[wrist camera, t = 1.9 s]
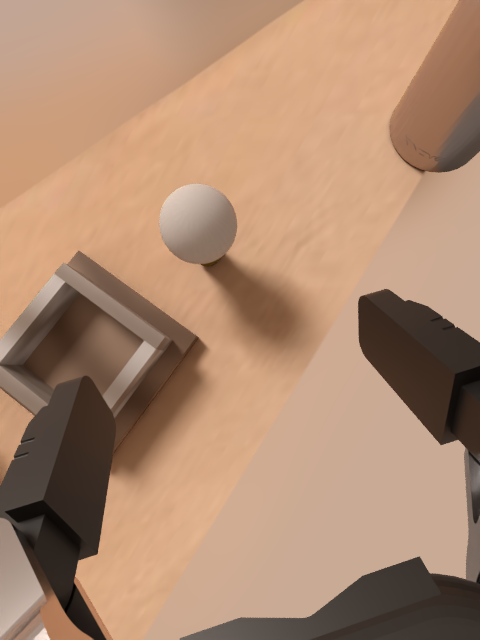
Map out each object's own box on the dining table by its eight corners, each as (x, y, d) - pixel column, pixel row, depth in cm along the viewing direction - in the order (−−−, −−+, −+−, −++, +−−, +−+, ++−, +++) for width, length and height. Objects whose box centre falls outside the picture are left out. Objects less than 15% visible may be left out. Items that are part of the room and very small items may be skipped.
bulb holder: (84, 254, 32) (61, 238, 28) (198, 337, 31) (191, 332, 27) (-10, 371, 31) (-50, 372, 27) (105, 463, 30) (82, 479, 26)
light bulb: (198, 296, 32) (177, 264, 22) (167, 247, 32) (133, 194, 23) (250, 264, 32) (252, 218, 22) (218, 216, 33) (206, 151, 23)
